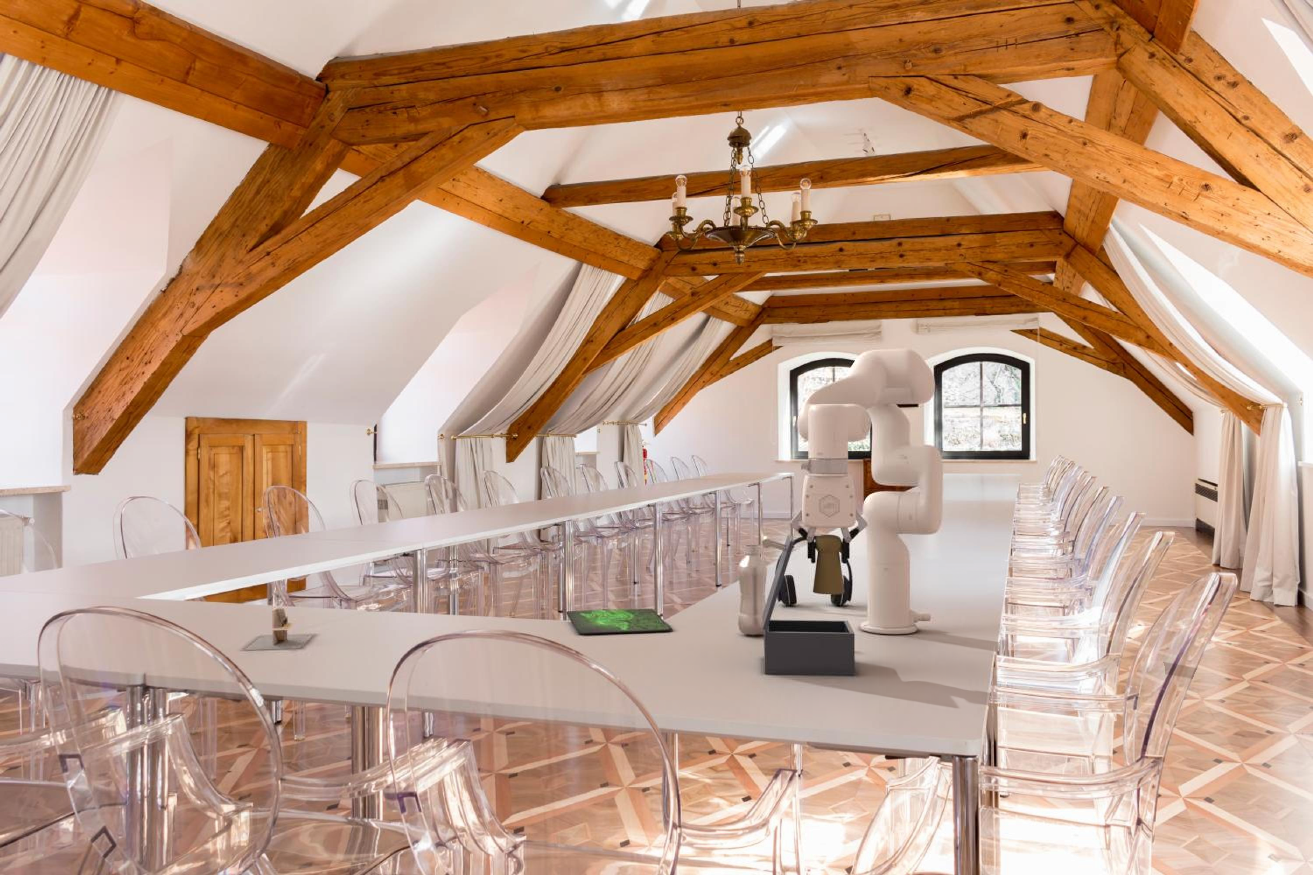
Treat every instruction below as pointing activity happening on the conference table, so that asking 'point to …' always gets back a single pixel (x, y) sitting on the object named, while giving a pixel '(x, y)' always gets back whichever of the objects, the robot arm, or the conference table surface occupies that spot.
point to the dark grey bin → (809, 647)
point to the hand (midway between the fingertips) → (828, 561)
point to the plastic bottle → (752, 590)
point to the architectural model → (279, 634)
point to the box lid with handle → (778, 576)
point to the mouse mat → (617, 621)
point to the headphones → (789, 593)
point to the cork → (828, 565)
